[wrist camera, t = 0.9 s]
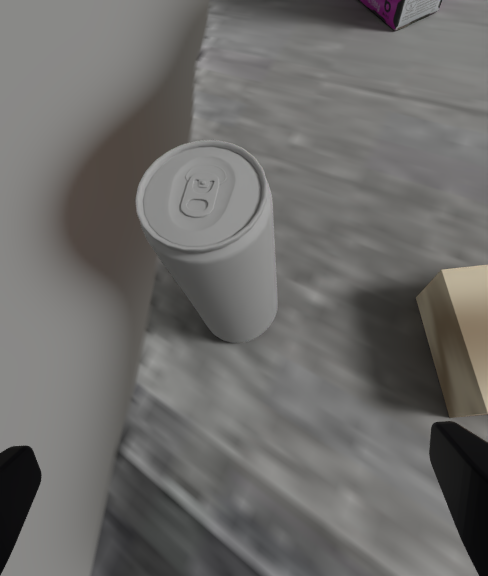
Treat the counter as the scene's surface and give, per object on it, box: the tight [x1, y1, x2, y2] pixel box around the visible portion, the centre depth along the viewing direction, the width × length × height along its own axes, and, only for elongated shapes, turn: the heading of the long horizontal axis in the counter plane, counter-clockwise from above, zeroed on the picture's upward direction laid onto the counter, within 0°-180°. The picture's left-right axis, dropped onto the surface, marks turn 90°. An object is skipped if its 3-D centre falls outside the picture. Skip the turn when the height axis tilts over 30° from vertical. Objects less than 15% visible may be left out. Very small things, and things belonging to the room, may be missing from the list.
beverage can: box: [136, 140, 278, 343], centre depth 18 cm, size 5×5×12 cm
